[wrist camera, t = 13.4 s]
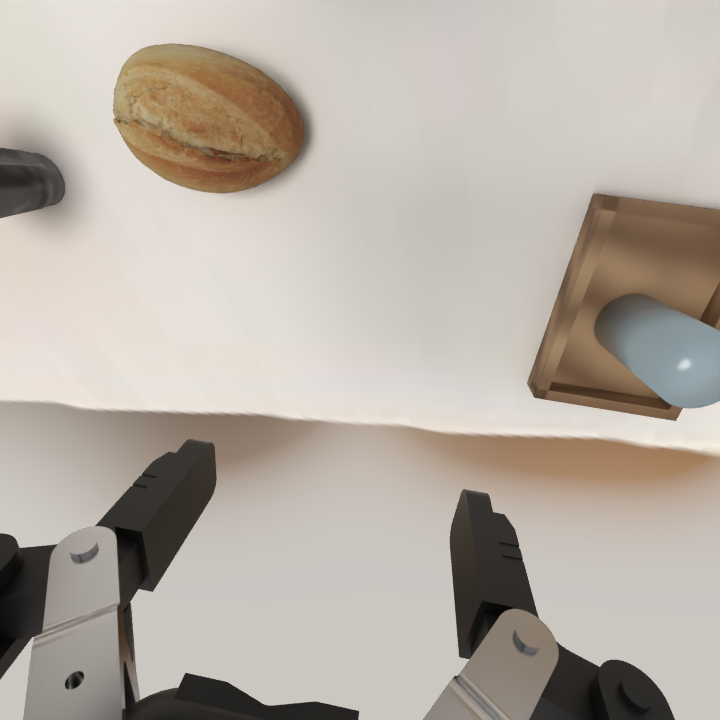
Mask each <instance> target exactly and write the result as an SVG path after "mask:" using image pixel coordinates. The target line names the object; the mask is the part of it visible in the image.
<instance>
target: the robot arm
mask: <svg viewBox="0 0 720 720" xmlns="http://www.w3.org/2000/svg"><path fill="white" fill-rule="evenodd" d="M215 486H216V462H215V447H214V444H213V443H210V442H205V441H199V440H194V439H188V440H187V441H186V442H185V443H184V444H183V445H182V447H181V448H180V449H179V450H178V451H177V453H172V452H168V453H166V454H165V455H163V456H161V457H160V458H158V459H156V460H155V461H153V462H152V463H151V464H150V465H149V467H148V468H147V469H146V470H145V471H144V472H143V474H142V476H140V477H139V478H138V479H137V480H136V481H135V482H134V483H133V486H131V487H130V488H129V489H128V490H127V491H126V493H124V494H123V496H122V497H121V498H120V499H119V500H118V501H117V502H116V503H115V505H114V506H113V507H112V508H111V509H110V510H109V511H108V512H107V513H106V515H105V516H104V517H103V518H102V519H101V520H100V521H99V522H98V523H97V524H96V525H95V526H93V527H87V528H84V529H81V530H78V531H76V532H74V533H72V534H70V535H68V536H67V537H66V538H64V539H63V540H62V541H61V542H60V543H59V544H56V545H49V546H37V547H27V548H19V546H18V543H17V541H16V539H15V538H14V537H13V536H11V535H8V534H0V679H1V678H2V676H3V675H4V674H5V672H6V671H7V670H8V668H9V667H10V666H11V664H12V663H13V662H14V660H15V659H16V658H17V656H18V655H19V654H20V653H21V651H22V650H23V649H24V647H25V646H26V645H27V643H28V642H29V641H30V639H31V638H32V637H35V638H34V641H33V645H32V651H31V660H30V668H29V676H28V685H27V693H26V702H25V710H24V719H23V720H358V716H359V711H356V710H351V709H347V708H343V707H338V706H333V705H329V704H324V703H320V702H306V703H295V704H286V705H275V706H267V705H264V704H262V703H260V702H259V701H257V700H256V699H254V698H252V697H251V696H249V695H248V694H246V693H244V692H243V691H241V690H239V689H238V688H236V687H234V686H232V685H231V684H229V683H228V682H225V681H220V680H216V679H210V678H206V677H202V676H197V675H193V674H188V673H185V675H184V677H183V679H182V681H181V684H180V686H179V688H172V689H168V690H164V691H160V692H158V693H155V694H152V695H150V696H148V697H146V698H144V699H142V700H140V695H139V688H138V682H137V674H136V665H135V650H134V637H133V624H132V611H131V603H130V601H131V600H132V598H133V596H134V595H135V593H136V592H137V590H138V589H142V590H147V591H152V592H153V590H154V589H155V587H156V586H157V584H158V583H159V581H160V579H161V578H162V576H163V574H164V573H165V571H166V570H167V568H168V567H169V565H170V563H171V562H172V560H173V558H174V557H175V555H176V553H177V552H178V550H179V549H180V547H181V546H182V544H183V542H184V541H185V539H186V538H187V536H188V534H189V533H190V531H191V530H192V528H193V526H194V525H195V523H196V521H197V520H198V518H199V517H200V515H201V513H202V512H203V510H204V509H205V507H206V505H207V504H208V502H209V501H210V499H211V497H212V495H213V493H214V490H215ZM450 552H451V563H452V575H453V588H454V600H455V611H456V624H457V636H458V646H459V647H458V648H459V657H461V658H466V659H470V660H469V661H468V663H467V664H466V665H465V667H464V669H463V670H462V671H461V673H460V674H459V675H458V676H455V677H454V678H453V679H452V680H451V681H450V682H449V684H448V685H447V686H446V688H445V689H444V691H443V692H442V693H441V695H440V696H439V698H438V699H437V701H436V702H435V703H434V705H433V706H432V708H431V709H430V711H429V712H428V713H427V715H426V716H425V718H424V719H423V720H675V719H674V717H673V714H672V711H671V709H670V707H669V705H668V703H667V700H666V698H665V697H664V695H663V693H662V692H661V691H660V689H659V688H658V687H657V685H656V684H655V683H654V682H653V681H652V680H651V679H650V678H649V677H648V676H647V675H646V674H645V673H643V672H642V671H641V670H639V669H638V668H636V667H635V666H633V665H631V664H629V663H627V662H624V661H620V660H609V661H606V662H604V663H603V664H602V665H601V667H599V666H597V665H595V664H593V663H591V662H589V661H587V660H585V659H583V658H582V657H580V656H578V655H576V654H574V653H572V652H570V651H569V650H567V649H565V648H564V647H562V646H561V645H560V644H559V643H558V642H556V640H555V638H554V636H553V635H552V632H551V631H550V630H549V628H548V627H547V626H546V625H545V624H544V623H543V622H542V621H541V620H540V619H539V617H538V614H537V611H536V607H535V604H534V599H533V596H532V592H531V588H530V585H529V581H528V577H527V573H526V569H525V566H524V562H523V561H522V554H521V551H520V549H519V543H518V539H517V535H516V532H515V529H514V527H513V526H512V525H511V523H510V522H509V520H508V519H507V518H506V516H505V515H504V514H499V513H494V512H493V511H492V506H491V501H490V497H489V495H488V494H487V493H482V492H476V491H471V490H465V489H463V491H462V493H461V496H460V499H459V502H458V505H457V509H456V512H455V515H454V518H453V522H452V525H451V532H450Z"/></svg>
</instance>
